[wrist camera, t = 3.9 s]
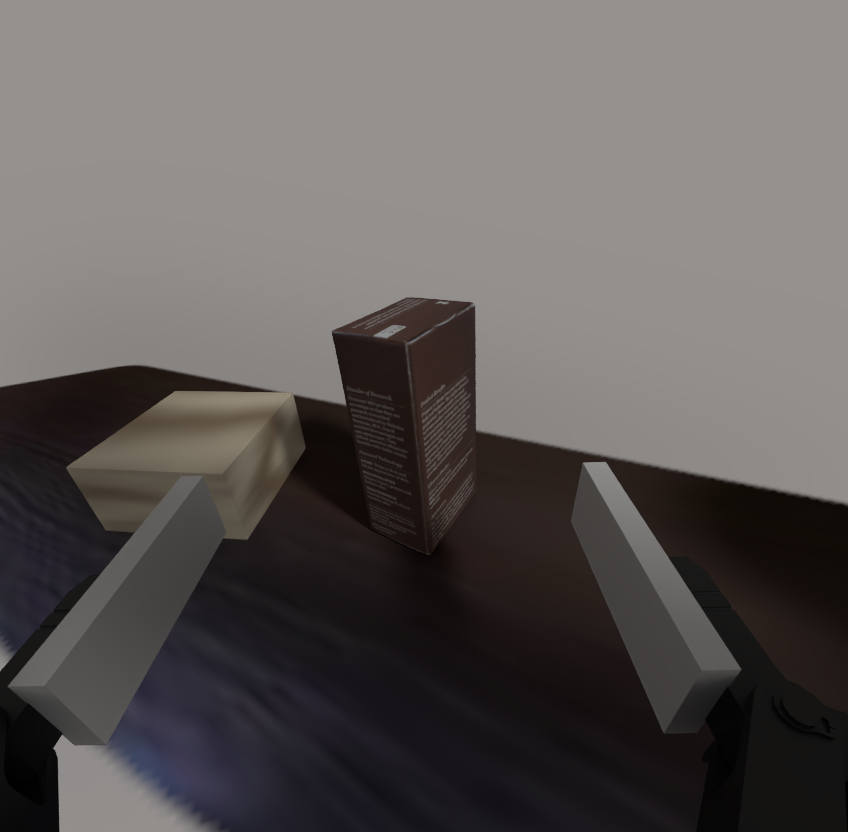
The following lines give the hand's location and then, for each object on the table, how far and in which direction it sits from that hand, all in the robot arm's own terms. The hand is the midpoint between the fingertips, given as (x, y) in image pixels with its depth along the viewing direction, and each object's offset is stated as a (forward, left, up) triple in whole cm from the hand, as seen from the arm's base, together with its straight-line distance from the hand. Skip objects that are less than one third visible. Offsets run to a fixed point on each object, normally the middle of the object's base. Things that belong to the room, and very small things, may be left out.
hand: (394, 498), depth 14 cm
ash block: (+10, +13, -8) cm, 18 cm away
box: (+7, -1, -8) cm, 10 cm away
